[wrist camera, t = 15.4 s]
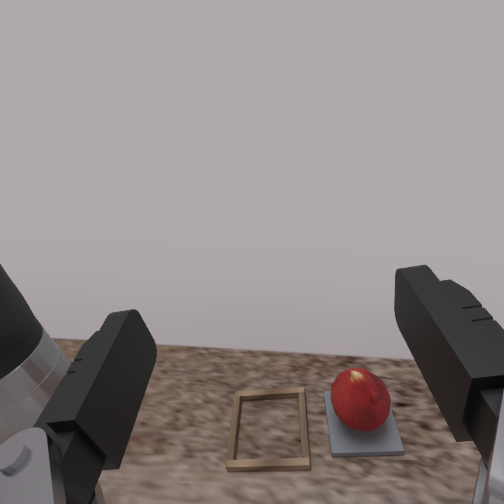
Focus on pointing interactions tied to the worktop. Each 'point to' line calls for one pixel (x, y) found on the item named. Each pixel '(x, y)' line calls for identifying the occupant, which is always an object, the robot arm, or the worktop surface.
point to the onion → (360, 399)
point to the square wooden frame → (268, 464)
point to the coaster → (362, 436)
